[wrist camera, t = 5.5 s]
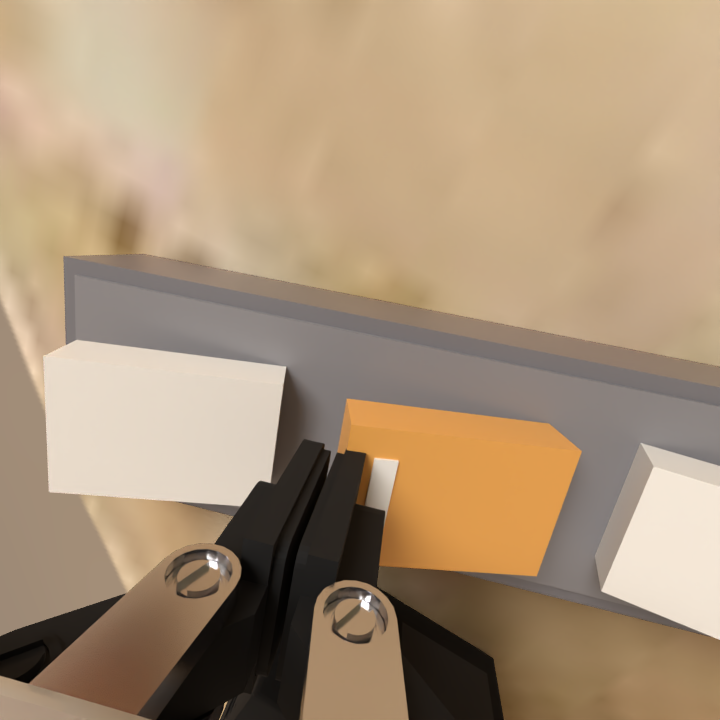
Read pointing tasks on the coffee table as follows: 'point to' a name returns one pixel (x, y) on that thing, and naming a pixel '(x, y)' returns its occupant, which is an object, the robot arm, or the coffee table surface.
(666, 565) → the white rocker
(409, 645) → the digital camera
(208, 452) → the block
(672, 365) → the power strip
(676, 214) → the coffee table surface
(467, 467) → the amber rocker
